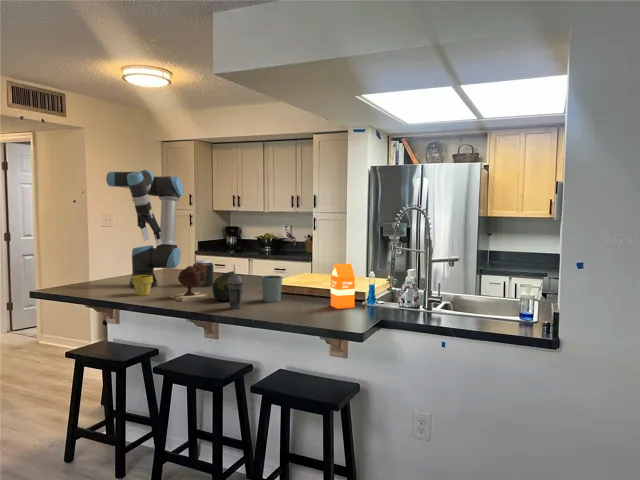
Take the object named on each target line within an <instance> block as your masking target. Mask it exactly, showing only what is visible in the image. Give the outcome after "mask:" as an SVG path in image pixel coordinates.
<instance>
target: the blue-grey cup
mask: <svg viewBox="0 0 640 480" xmlns="http://www.w3.org/2000/svg"><path fill="white" fill-rule="evenodd" d="M282 284H283V276H282V275H271V274H270V275H263V276H261V286H262V301H263V302H264V303H278V302H280V301H281V298H282V297H281V296H282V294H281V293H282Z"/></svg>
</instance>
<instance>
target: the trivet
mask: <svg viewBox="0 0 640 480" xmlns="http://www.w3.org/2000/svg"><path fill="white" fill-rule="evenodd" d="M192 292H193V293H194V294H195V295H194V296H184V294H185V293H186V292H182V293H170V294H169V298H172V299H174V300H178V301H179V302H188V301H195V300H204V299H210V298H211V295H210V294H209V293H204V292H202V291H199V290H195V291H192Z"/></svg>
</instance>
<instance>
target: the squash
mask: <svg viewBox="0 0 640 480" xmlns="http://www.w3.org/2000/svg"><path fill="white" fill-rule="evenodd" d="M231 275H234V270H233V271H228V272H225V273H223V274H222V275H221V276H218V277H217V278H216V279H214V284H213V286H212V294H213V297H214V298H215V299H216V300H217V301H219V302H222V301H223V302H225V301H227V300H229V291H228V286H227V281H228V278H229V277H230V276H231ZM242 295H243V293H242V294H241V296H242Z"/></svg>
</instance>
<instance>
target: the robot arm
mask: <svg viewBox="0 0 640 480" xmlns="http://www.w3.org/2000/svg"><path fill="white" fill-rule="evenodd" d="M105 178H106V179H105V181H106V184H107V185H108V186H109V187H114V188H115V187H119V188H125V189H129V191H130V194H131V199H132V202H133V204H134V208H135V209H134V210H135V212H136V215H137V227H138V228H140V231H141V234H142V238H143V241H144V242H145V241H148V240H150V235H149V232H148V228H147V225H146V224H148V225H149V227H150V229H151V230H152V231H153V237H154V240H155V244H156V247H154V245H145V246H138V247H137V246H136V247H134V248H132V250H131V264H132V268H131V269H132V270H131V272H132V273H131V277H130V280H129V287H130V288H132V287H134V284H133V283H132V277H133V276H139V275H152V276H153V282H152V283H151V288H153V287H157V286H158V280H157V277H156V275H155V271H154V270H155V269H175V268H176V267H178V265H179V264H180V260H181V257H182V256H181V255H182V254H181V248H179V247H178V244H177V243H176V224H177V222H176V221H177V206H178V205H177V204H178V203H177V202H179V201H180V199H181V198H180V197H183V195H184V186H183V182H182V179H181V178H180V177H178V176H171V175H170V176H155V175H154V174H153V172H152V171H150V170H149V169H144V170H140V171H109V172H107V173H106V177H105ZM151 196H152V197H158V199H159V201H161V204H160V222H159V223H160V224H159V223H158V221H157V220H156V218H155V213H151V212H150V211H151V210H152V205H151V202H150V201H151V200H150V198H149V197H151Z"/></svg>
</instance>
